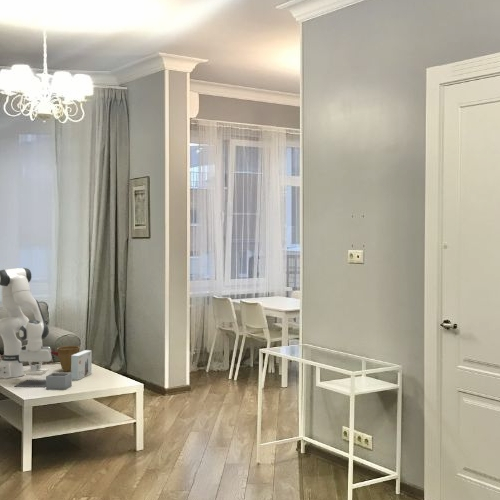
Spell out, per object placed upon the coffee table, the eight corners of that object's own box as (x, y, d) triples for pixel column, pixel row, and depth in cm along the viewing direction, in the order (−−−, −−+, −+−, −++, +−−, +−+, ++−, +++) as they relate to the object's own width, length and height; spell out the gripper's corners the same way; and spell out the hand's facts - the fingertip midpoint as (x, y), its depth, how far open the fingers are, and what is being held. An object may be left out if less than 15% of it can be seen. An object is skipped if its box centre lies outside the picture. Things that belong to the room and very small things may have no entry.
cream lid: (22, 375, 435) (22, 366, 435) (30, 372, 446) (29, 363, 446) (41, 376, 434) (41, 367, 433) (49, 372, 444) (48, 363, 444)
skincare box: (78, 380, 449) (78, 355, 449) (70, 380, 450) (70, 355, 450) (92, 373, 470) (92, 349, 469) (84, 373, 471) (84, 349, 470)
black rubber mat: (13, 386, 433) (13, 385, 433) (27, 380, 450) (27, 379, 450) (45, 387, 430) (44, 386, 430) (56, 381, 448) (56, 380, 448)
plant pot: (82, 371, 477) (82, 348, 476) (60, 373, 470) (59, 349, 470) (77, 367, 490) (77, 344, 490) (55, 369, 483) (55, 346, 483)
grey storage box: (46, 389, 425) (46, 376, 424) (53, 385, 434) (52, 372, 434) (65, 389, 423) (65, 376, 423) (71, 386, 433) (71, 373, 433)
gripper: (53, 345, 441) (53, 367, 441) (22, 345, 444) (22, 367, 444) (48, 347, 435) (49, 369, 435) (17, 347, 437) (18, 369, 438)
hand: (35, 368), depth 440 cm, fingers closed on cream lid, 3 cm apart
